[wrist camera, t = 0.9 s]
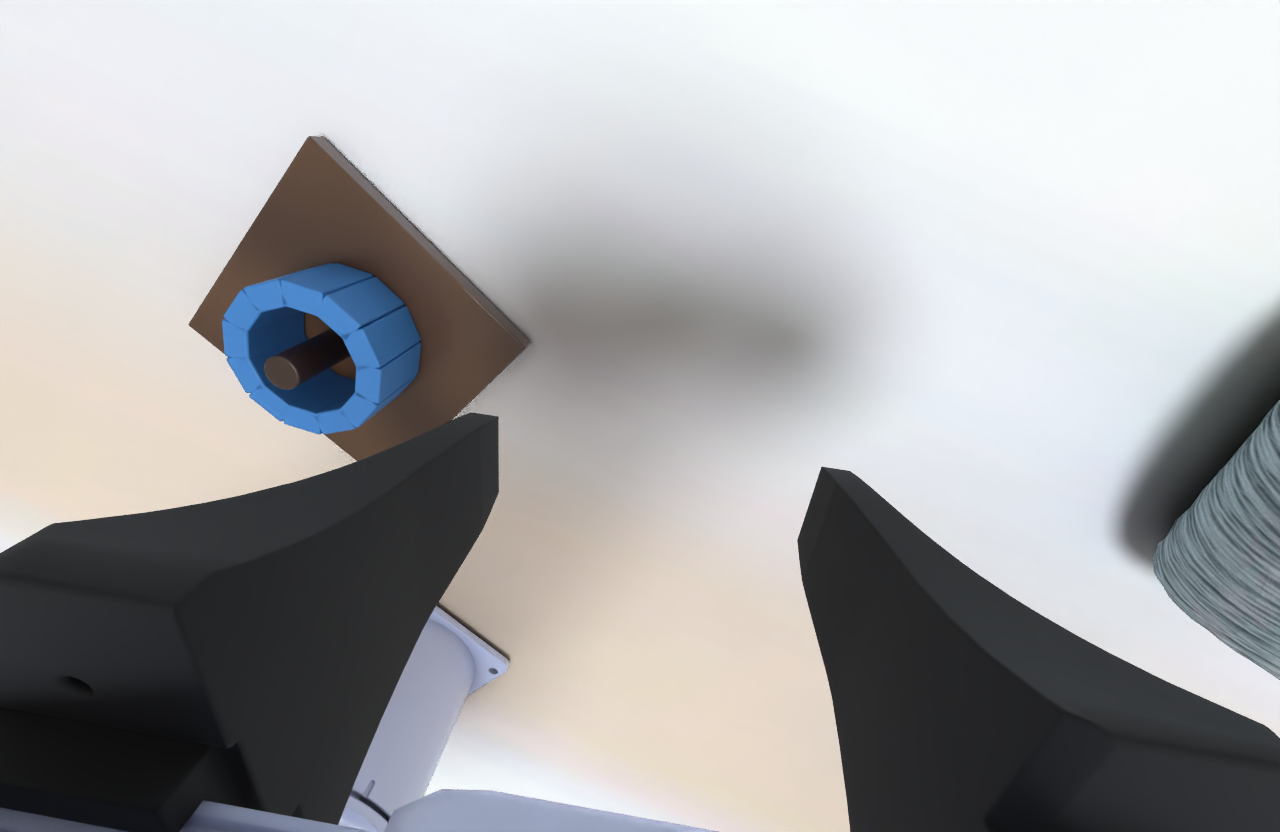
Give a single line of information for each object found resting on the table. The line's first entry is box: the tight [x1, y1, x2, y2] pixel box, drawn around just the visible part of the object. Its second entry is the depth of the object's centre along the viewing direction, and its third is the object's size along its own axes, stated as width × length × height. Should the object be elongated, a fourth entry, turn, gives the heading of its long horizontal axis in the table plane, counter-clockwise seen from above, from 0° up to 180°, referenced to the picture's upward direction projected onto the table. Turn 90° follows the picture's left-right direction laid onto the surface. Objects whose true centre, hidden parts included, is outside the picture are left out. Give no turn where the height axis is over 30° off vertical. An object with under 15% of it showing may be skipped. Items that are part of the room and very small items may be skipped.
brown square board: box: [189, 136, 531, 461], centre depth 19 cm, size 10×10×5 cm
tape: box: [222, 263, 421, 434], centre depth 20 cm, size 6×6×3 cm
